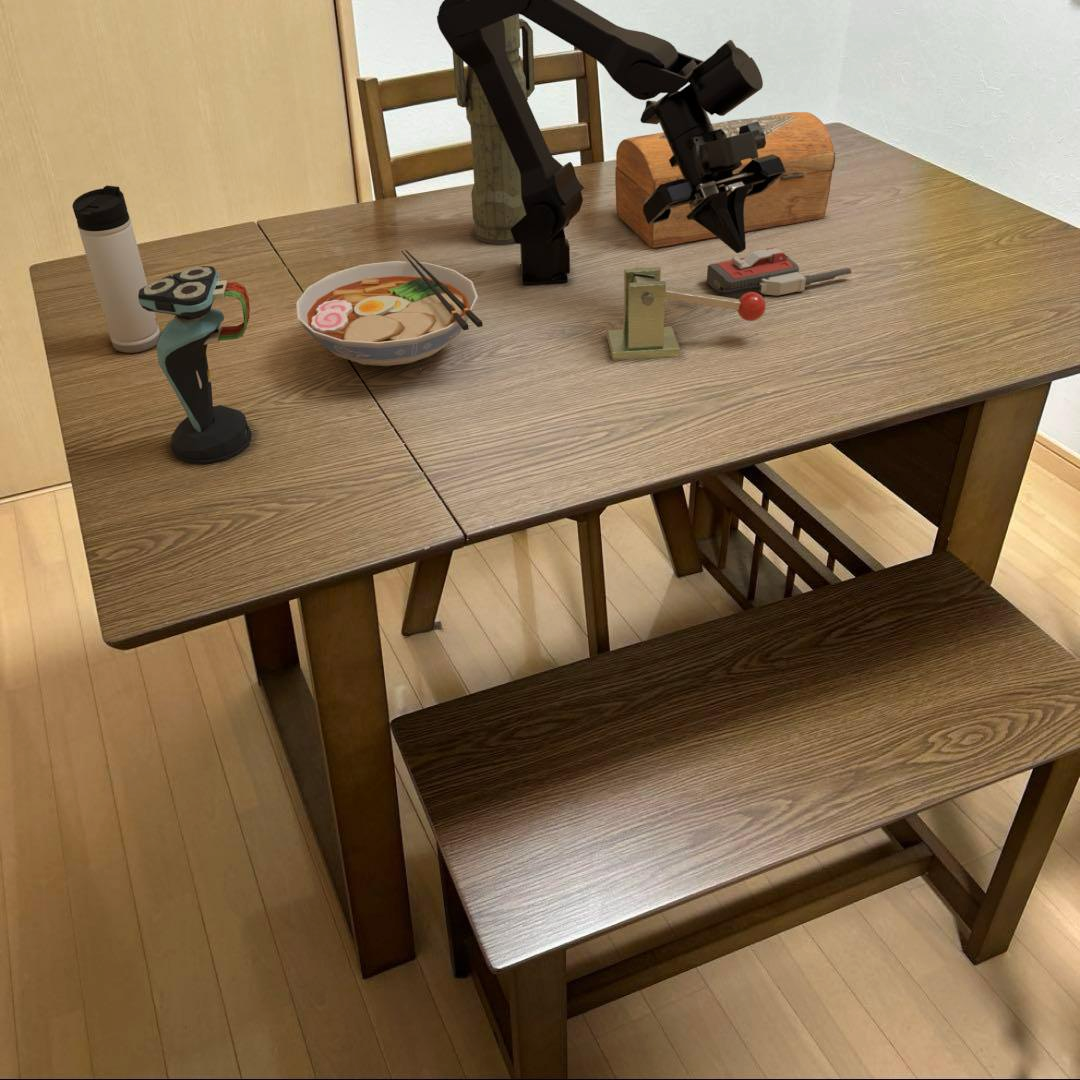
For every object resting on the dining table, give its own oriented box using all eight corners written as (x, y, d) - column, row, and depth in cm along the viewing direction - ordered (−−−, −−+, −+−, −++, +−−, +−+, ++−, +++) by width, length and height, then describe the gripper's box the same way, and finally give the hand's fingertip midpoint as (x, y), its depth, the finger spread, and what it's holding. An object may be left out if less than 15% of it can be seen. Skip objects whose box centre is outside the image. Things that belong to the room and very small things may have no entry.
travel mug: (172, 333, 151) (135, 187, 139) (143, 356, 146) (102, 207, 134) (133, 327, 153) (92, 182, 141) (103, 350, 148) (58, 202, 136)
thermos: (551, 232, 174) (545, -15, 152) (486, 252, 169) (470, -1, 147) (519, 214, 180) (509, -26, 158) (455, 233, 175) (436, -13, 153)
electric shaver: (178, 423, 133) (136, 265, 121) (278, 416, 134) (247, 258, 121) (164, 467, 126) (118, 303, 114) (270, 459, 127) (236, 296, 114)
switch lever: (757, 314, 145) (765, 289, 143) (763, 327, 142) (772, 302, 140) (628, 295, 142) (635, 268, 140) (632, 307, 139) (639, 281, 137)
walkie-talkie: (726, 310, 152) (853, 283, 157) (728, 279, 149) (858, 253, 155) (696, 283, 158) (819, 258, 164) (698, 254, 156) (823, 229, 161)
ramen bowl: (283, 329, 151) (273, 272, 146) (444, 295, 158) (439, 239, 153) (332, 418, 133) (322, 357, 128) (511, 375, 140) (508, 315, 135)
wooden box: (778, 183, 187) (787, 97, 179) (829, 219, 175) (841, 129, 166) (610, 211, 180) (610, 123, 171) (651, 250, 168) (654, 157, 159)
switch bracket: (671, 334, 147) (675, 264, 141) (679, 356, 142) (683, 285, 136) (606, 338, 147) (607, 268, 141) (612, 360, 142) (613, 289, 136)
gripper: (660, 117, 129) (714, 241, 129) (784, 87, 137) (836, 204, 136) (619, 165, 139) (669, 280, 139) (736, 135, 147) (784, 244, 146)
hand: (741, 251), depth 140 cm, fingers closed
